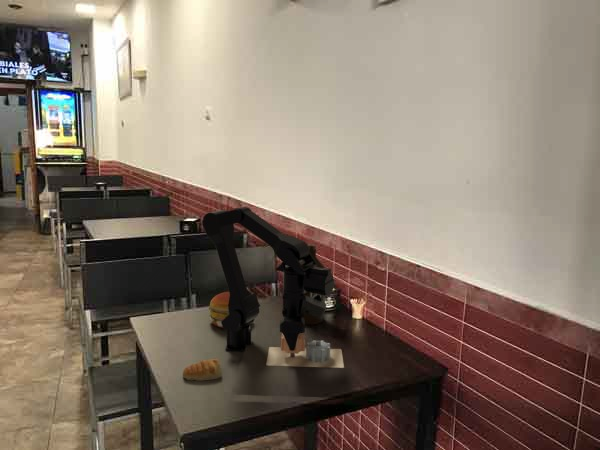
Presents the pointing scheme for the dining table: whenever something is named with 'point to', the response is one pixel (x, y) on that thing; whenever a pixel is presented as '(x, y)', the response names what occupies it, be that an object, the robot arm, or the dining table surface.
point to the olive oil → (310, 318)
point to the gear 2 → (318, 351)
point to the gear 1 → (298, 348)
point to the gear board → (302, 359)
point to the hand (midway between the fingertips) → (292, 344)
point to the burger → (219, 308)
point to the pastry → (203, 370)
